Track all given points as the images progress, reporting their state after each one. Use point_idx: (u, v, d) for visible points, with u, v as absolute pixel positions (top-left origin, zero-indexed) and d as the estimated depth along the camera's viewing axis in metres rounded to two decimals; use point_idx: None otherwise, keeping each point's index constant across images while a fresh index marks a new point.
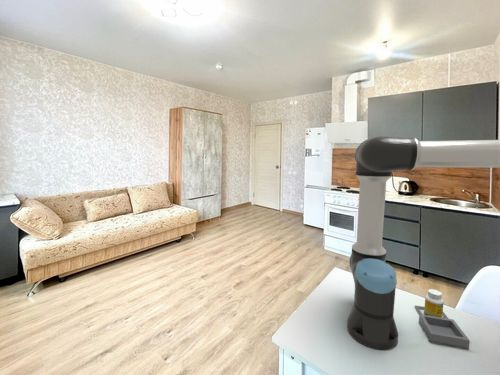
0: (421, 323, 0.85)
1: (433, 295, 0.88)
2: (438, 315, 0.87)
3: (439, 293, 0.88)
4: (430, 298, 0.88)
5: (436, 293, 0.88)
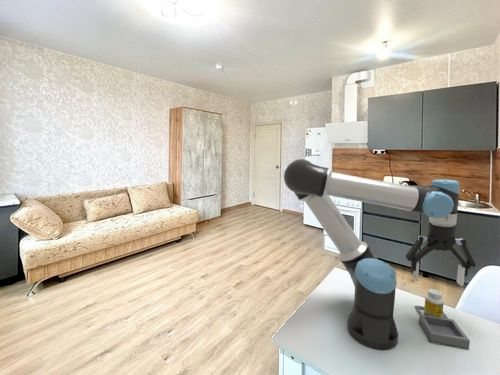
0: (421, 323, 0.85)
1: (433, 295, 0.88)
2: (438, 315, 0.87)
3: (439, 293, 0.88)
4: (430, 298, 0.88)
5: (436, 293, 0.88)
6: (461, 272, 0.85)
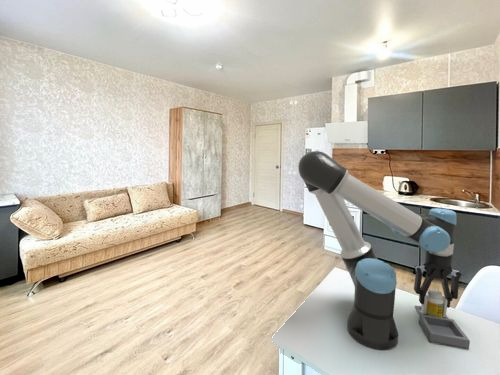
0: (421, 323, 0.85)
1: (433, 295, 0.88)
2: (438, 315, 0.87)
3: (439, 293, 0.88)
4: (430, 298, 0.88)
5: (436, 293, 0.88)
6: (444, 304, 0.87)
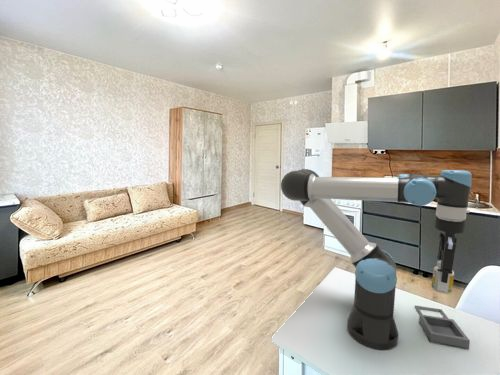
0: (421, 323, 0.85)
1: None
2: None
3: None
4: None
5: None
6: None
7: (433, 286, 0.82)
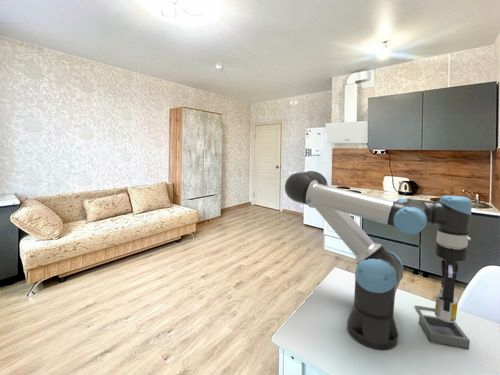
0: (421, 323, 0.85)
1: (454, 295, 0.77)
2: None
3: None
4: None
5: None
6: None
7: (436, 313, 0.80)
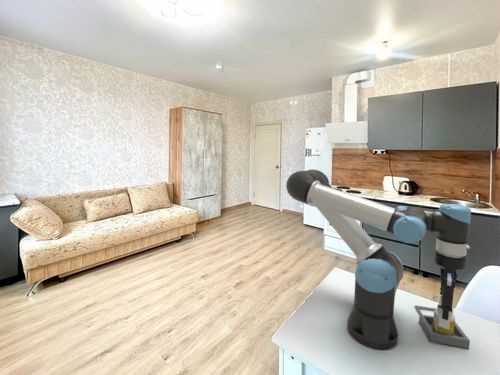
0: (421, 323, 0.85)
1: (451, 312, 0.77)
2: None
3: None
4: None
5: None
6: None
7: (434, 329, 0.80)
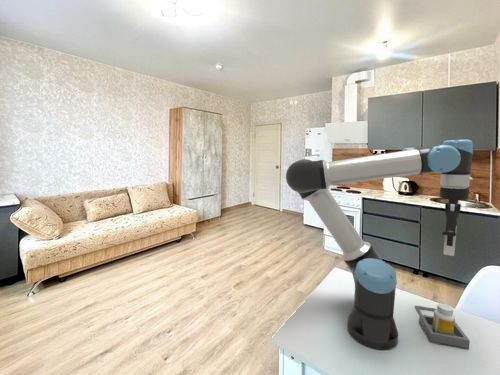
0: (421, 323, 0.85)
1: (451, 312, 0.77)
2: None
3: (447, 305, 0.80)
4: (449, 316, 0.77)
5: (448, 307, 0.79)
6: None
7: (434, 330, 0.80)
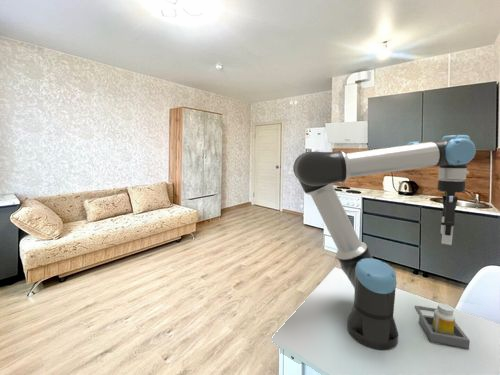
0: (421, 323, 0.85)
1: (451, 312, 0.77)
2: None
3: (448, 305, 0.80)
4: (449, 316, 0.77)
5: (449, 307, 0.79)
6: None
7: (434, 330, 0.80)
